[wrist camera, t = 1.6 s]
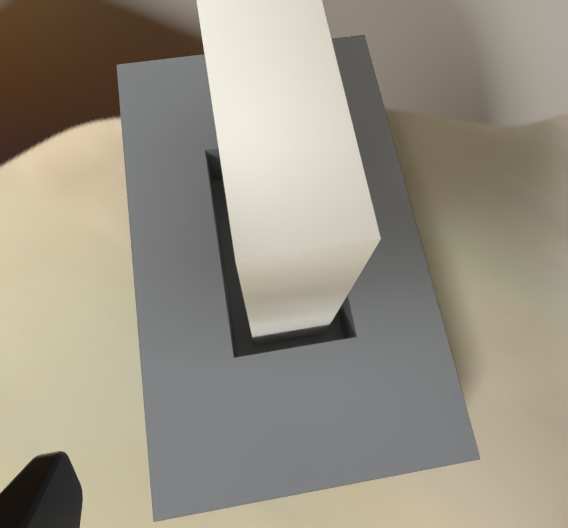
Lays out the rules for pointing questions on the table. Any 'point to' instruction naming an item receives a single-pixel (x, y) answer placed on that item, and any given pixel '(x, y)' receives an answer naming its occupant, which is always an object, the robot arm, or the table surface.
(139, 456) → the table surface
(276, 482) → the holder box
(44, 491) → the robot arm
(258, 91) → the white flat block
